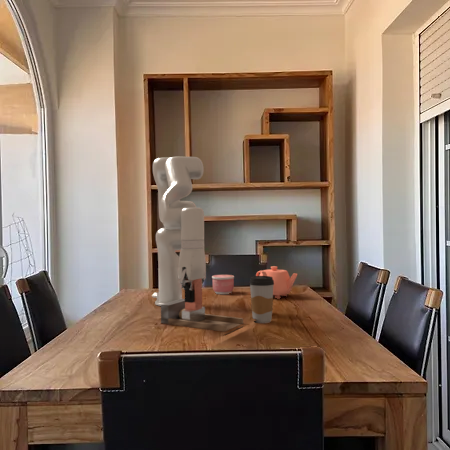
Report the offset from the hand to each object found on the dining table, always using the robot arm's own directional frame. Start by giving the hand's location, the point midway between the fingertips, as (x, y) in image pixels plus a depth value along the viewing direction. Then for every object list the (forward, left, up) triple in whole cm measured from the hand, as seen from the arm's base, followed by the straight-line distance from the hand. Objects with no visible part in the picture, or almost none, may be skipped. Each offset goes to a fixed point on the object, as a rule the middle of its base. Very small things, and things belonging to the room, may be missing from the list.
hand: (193, 300), depth 148 cm
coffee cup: (+17, +16, -8) cm, 25 cm away
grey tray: (+3, 0, -8) cm, 9 cm away
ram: (0, 0, -7) cm, 7 cm away
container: (-24, +60, -9) cm, 65 cm away
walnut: (-3, 0, -7) cm, 8 cm away
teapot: (+2, +61, -9) cm, 62 cm away
